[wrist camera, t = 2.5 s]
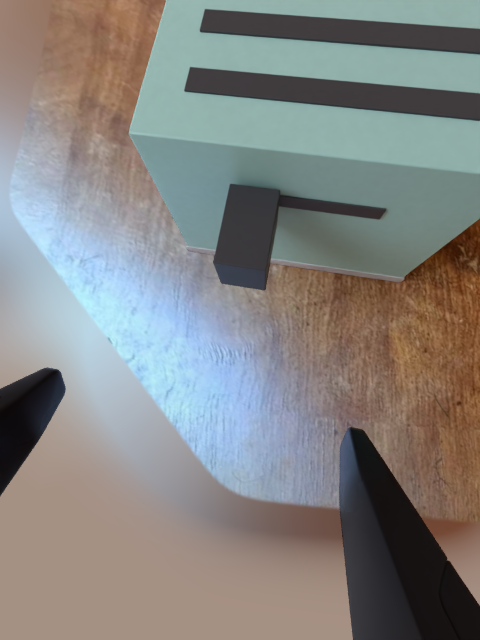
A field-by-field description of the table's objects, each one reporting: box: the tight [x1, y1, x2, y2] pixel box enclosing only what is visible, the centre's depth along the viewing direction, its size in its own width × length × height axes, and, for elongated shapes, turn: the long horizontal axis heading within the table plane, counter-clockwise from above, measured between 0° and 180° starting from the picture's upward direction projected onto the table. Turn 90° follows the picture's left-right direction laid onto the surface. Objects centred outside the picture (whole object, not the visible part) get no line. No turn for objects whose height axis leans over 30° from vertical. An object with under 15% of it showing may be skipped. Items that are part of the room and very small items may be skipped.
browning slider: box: [213, 184, 280, 290], centre depth 16 cm, size 4×2×3 cm, turn 169°
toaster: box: [129, 0, 480, 282], centre depth 19 cm, size 9×16×12 cm, turn 80°
